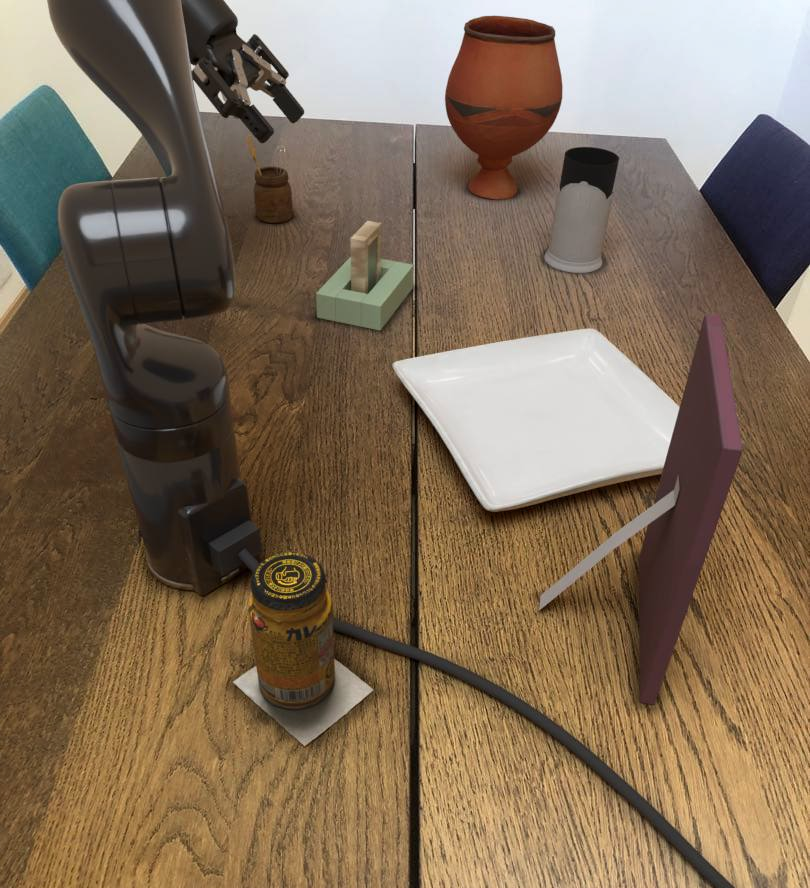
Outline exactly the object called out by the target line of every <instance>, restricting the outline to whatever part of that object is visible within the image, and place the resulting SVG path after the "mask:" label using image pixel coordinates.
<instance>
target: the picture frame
mask: <svg viewBox="0 0 810 888" xmlns="http://www.w3.org/2000/svg"><path fill="white" fill-rule="evenodd" d="M724 333H725V332H724V328H723V322H722V316H721V315H717V314H716V315H715V314H704V316H703V319H702V324H701V327H700V331H699V334H698V338H697V341H696V345H695V348H694V353H693V355H692V360H691V364H690V367H689V371H688V375H687V377H686V378H687V379H686V383H685V386H684V390H683V393H682V398H681V401H680V405H679V407H680V408H679V412H678V415H677V419H676V423H675V426H674V430H673V434H672V438H671V441H670V445H669V449H668V452H667V456H666V460H665V464H664V467H663V471H662V474H660V478H659V483H658V485H657V489H656V494H655V497H654V501H653V504H652V505H651V506H650V507H648V508H647V509H646V510H644V511H643V512H641V513H640V514H639V515H638V516H636V517H635V518H633V519H632V520H631V521H629V522H628V523H626V524H625V525H624V526H622V527H621V528H620V529H619V530H617V531H616V532H615V533H614V534H612V535H610V536H609V537H608V538H607V539H606V540H605V541H604V542H602V543H601V544H600V545H599V546H597V547H596V548H595V549H594V550H593V551H592V552H591V553H589V554H588V555H587V556H585V558H584V559H582V560H581V561H580V562H579V563H578V564H576V565H575V566H574V567H573V568H571V569H570V570H569V571H568V572H567V573H566V574H564V575H563V576H562V577H560V579H559V580H557V581H556V582H555V583H554V584H552V585H551V586H550V587H549V588H548V589H547V590H545V591H544V592H542V594H540V600H539V607H538V610H539V611H541V610H542V609H543V608H544V607H546V606H547V605H548V604H549V603H550V602H552V601H553V600H554V599H555V598H556V597H558V596H559V595H560V594H561V593H563V592H564V591H565V590H566V589H568V588H569V587H570V586H571V585H572V584H573V583H575V582H576V581H577V580H579V579H580V578H581V577H582V576H583V575H584V574H586V573H587V572H588V571H590V570H591V569H592V568H593V567H594V566H595V565H596V564H598V563H599V562H600V561H602V560H603V559H604V558H605V557H606V556H608V555H609V554H610V553H612V552H613V550H616V548H617V547H619V546H621V545H622V544H623V543H625V542H626V541H627V540H629V539H630V538H631V537H633V536H635V535H636V534H637V533H639V532H640V531H641V530H642V529H644V528H646V531H645V533H644V538H643V541H642V546H641V548H640V552H639V557H638V635H639V637H638V639H639V641H638V642H639V645H638V647H639V650H638V651H639V653H638V654H639V702H640V703H641V704H647V705H653V706H654V705H655V704H656V703H657V699H658V696H659V693H660V690H661V688H662V685H663V682H664V679H665V677H666V673H667V670H668V667H669V665H670V661H671V658H672V656H673V653H674V650H675V647H676V644H677V641H678V639H679V636H680V633H681V630H682V628H683V624H684V621H685V618H686V616H687V612H688V610H689V607H690V604H691V601H692V599H693V595H694V592H695V590H696V587H697V584H698V581H699V578H700V575H701V572H702V569H703V567H704V564H705V560H706V558H707V555H708V552H709V549H710V547H711V544H712V541H713V538H714V535H715V532H716V529H717V526H718V525H719V522H720V517H721V514H722V512H723V510H724V506H725V504H726V500H727V497H728V495H729V491H730V489H731V486H732V483H733V480H734V477H735V474H736V471H737V469H738V466H739V464H740V460H741V457H742V454H743V450H744V449H743V443H742V437H741V430H740V425H739V419H738V413H737V407H736V401H735V400H736V399H735V394H734V389H733V382H732V377H731V376H732V375H731V369H730V364H729V357H728V353H727V346H726V340H725V334H724Z"/></svg>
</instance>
